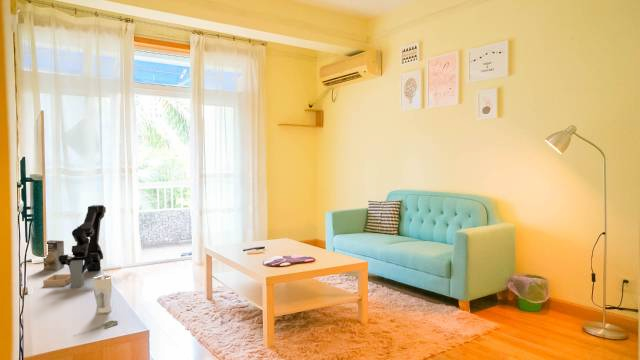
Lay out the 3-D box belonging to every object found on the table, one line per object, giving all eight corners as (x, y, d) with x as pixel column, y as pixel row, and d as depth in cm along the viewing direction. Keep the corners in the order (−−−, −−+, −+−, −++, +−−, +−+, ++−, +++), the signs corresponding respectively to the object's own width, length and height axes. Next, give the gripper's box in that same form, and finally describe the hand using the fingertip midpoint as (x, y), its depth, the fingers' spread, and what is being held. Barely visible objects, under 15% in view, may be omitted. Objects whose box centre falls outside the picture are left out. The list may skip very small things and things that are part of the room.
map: (121, 323, 175) (120, 321, 175) (70, 344, 157) (70, 341, 157) (113, 321, 177) (113, 319, 177) (62, 340, 160) (62, 338, 160)
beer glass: (92, 311, 187) (90, 277, 186) (108, 307, 192) (107, 274, 191) (98, 315, 182) (96, 281, 181) (115, 311, 187) (114, 277, 186)
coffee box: (43, 269, 253) (41, 242, 252) (50, 266, 260) (49, 240, 259) (57, 269, 252) (56, 242, 251) (65, 267, 259) (64, 240, 258)
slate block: (83, 284, 225) (82, 259, 224) (81, 286, 221) (80, 261, 220) (73, 285, 224) (72, 260, 223) (70, 287, 220) (69, 262, 219)
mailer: (80, 276, 240) (80, 270, 240) (65, 285, 223) (65, 280, 223) (60, 276, 239) (60, 271, 239) (43, 286, 222) (43, 280, 222)
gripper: (58, 239, 223) (51, 266, 214) (98, 238, 228) (93, 263, 218) (64, 251, 232) (58, 277, 222) (102, 249, 236) (97, 274, 226)
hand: (76, 273), depth 222 cm, fingers closed on slate block, 5 cm apart
